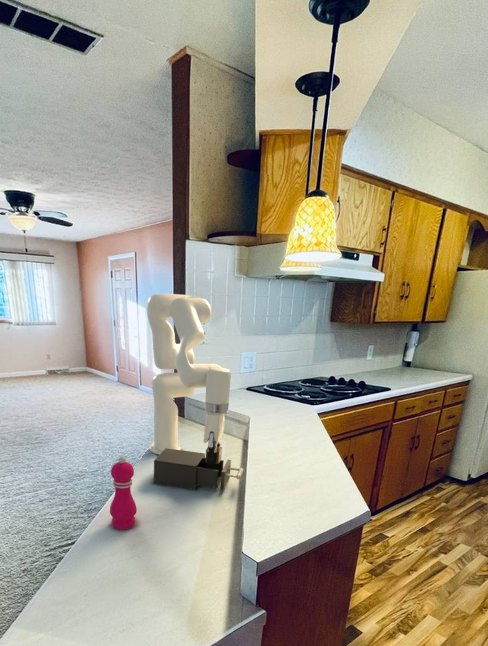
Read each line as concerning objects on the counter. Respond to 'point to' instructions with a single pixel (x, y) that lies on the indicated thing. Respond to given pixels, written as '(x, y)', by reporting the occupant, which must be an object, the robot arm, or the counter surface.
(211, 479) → the drawer
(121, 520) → the pepper mill
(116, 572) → the counter surface
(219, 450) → the block
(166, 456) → the drawer cabinet
